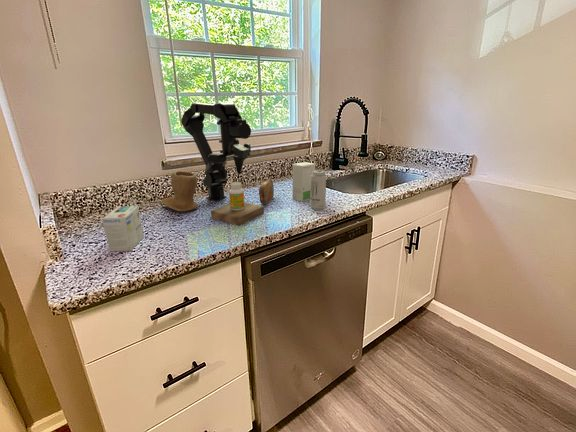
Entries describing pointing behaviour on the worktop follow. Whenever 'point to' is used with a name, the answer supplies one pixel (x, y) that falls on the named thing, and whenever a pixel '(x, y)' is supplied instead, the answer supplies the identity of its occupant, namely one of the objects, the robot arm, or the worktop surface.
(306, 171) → the skincare box
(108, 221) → the light bulb box
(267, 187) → the tin
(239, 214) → the walnut base
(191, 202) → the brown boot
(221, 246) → the worktop surface
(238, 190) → the supplement bottle
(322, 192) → the energy drink can
